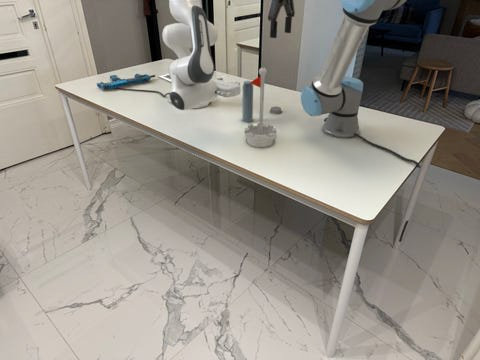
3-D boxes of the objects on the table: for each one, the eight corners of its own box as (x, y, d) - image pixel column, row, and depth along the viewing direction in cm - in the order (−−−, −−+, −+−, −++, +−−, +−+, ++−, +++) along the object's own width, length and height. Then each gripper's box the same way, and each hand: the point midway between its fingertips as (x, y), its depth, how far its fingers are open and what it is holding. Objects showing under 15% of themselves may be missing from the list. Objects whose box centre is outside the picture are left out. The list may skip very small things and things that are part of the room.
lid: (273, 114, 166) (273, 111, 165) (268, 110, 170) (268, 107, 169) (282, 112, 167) (283, 109, 166) (277, 109, 171) (277, 105, 170)
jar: (240, 121, 159) (240, 82, 149) (245, 117, 162) (245, 79, 153) (249, 123, 157) (250, 84, 147) (254, 119, 161) (255, 81, 151)
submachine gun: (141, 68, 225) (159, 74, 208) (142, 74, 227) (160, 80, 210) (89, 78, 206) (104, 86, 190) (91, 84, 208) (106, 92, 192)
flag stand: (267, 132, 148) (271, 61, 132) (281, 144, 138) (286, 70, 122) (240, 137, 144) (240, 65, 128) (252, 150, 134) (253, 74, 118)
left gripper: (226, 87, 124) (249, 78, 133) (188, 77, 135) (212, 69, 144) (227, 104, 128) (249, 94, 137) (189, 92, 139) (212, 84, 148)
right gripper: (289, -23, 148) (285, 30, 159) (260, -20, 130) (258, 38, 142) (305, -23, 144) (300, 31, 156) (277, -20, 127) (274, 40, 138)
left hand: (230, 81), depth 141 cm, fingers open, 8 cm apart
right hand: (280, 35), depth 149 cm, fingers open, 13 cm apart
